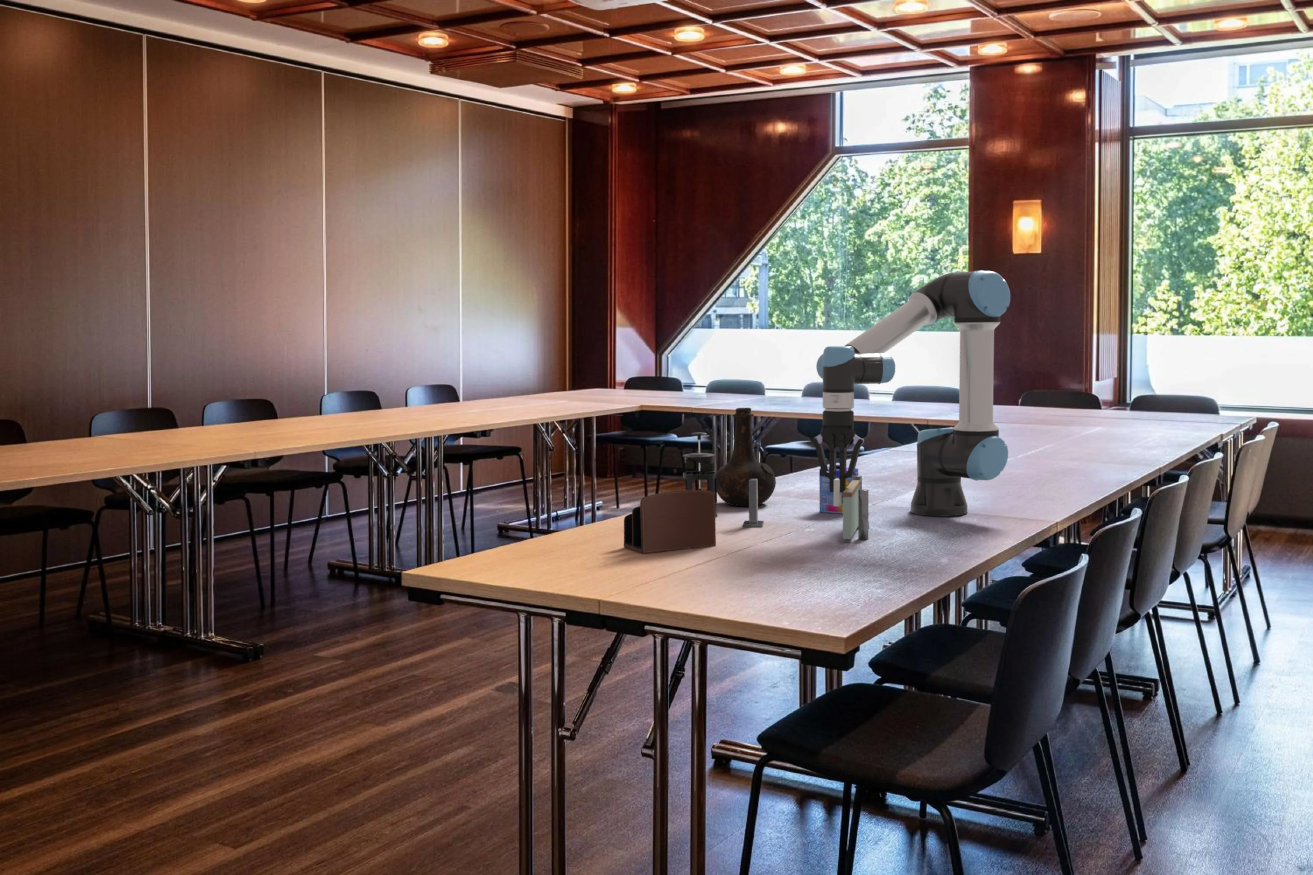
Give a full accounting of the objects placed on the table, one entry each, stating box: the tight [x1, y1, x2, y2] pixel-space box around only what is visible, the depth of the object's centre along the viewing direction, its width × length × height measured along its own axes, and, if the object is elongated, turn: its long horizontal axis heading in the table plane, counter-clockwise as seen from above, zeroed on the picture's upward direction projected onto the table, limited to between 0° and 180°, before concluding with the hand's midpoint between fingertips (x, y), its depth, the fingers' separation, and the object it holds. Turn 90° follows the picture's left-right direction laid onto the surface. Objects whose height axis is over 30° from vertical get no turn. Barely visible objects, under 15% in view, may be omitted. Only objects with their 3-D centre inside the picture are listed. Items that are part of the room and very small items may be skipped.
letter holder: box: [623, 489, 717, 555], centre depth 293 cm, size 10×20×14 cm, turn 118°
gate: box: [842, 480, 860, 540], centre depth 305 cm, size 22×2×11 cm, turn 165°
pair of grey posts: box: [742, 475, 870, 541], centre depth 311 cm, size 32×22×13 cm
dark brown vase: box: [716, 407, 777, 507], centre depth 357 cm, size 18×18×28 cm
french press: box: [682, 431, 718, 518], centre depth 337 cm, size 12×9×23 cm
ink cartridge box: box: [818, 460, 859, 515], centre depth 340 cm, size 10×6×14 cm, turn 64°
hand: (837, 505), depth 304 cm, fingers closed
